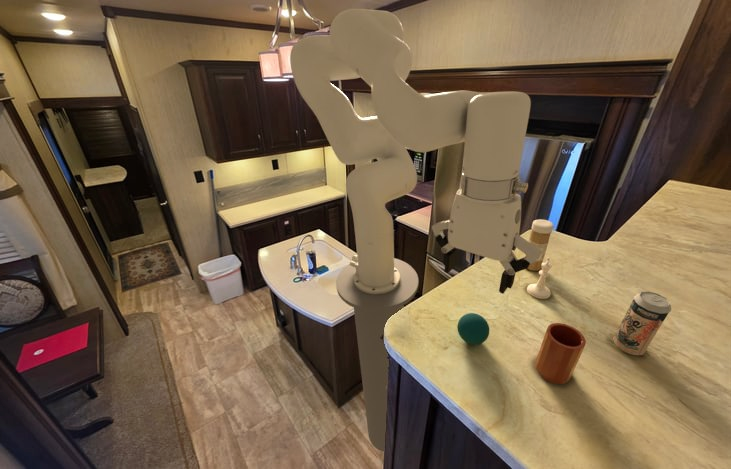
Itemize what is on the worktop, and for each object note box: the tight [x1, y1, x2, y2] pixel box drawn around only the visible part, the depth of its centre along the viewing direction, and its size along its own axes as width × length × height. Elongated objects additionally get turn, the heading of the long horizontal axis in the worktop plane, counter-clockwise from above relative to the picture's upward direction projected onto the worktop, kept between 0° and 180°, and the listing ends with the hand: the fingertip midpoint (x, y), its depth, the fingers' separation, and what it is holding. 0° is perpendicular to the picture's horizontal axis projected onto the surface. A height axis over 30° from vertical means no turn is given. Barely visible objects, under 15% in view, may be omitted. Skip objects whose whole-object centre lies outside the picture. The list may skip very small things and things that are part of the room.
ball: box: [457, 312, 490, 346], centre depth 57 cm, size 6×6×6 cm
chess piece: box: [526, 256, 552, 300], centre depth 67 cm, size 5×5×10 cm
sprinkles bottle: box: [524, 218, 554, 272], centre depth 75 cm, size 5×5×13 cm
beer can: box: [612, 290, 672, 356], centre depth 52 cm, size 5×5×12 cm
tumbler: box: [534, 322, 587, 385], centre depth 50 cm, size 5×5×9 cm
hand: (475, 278), depth 50 cm, fingers open, 9 cm apart
